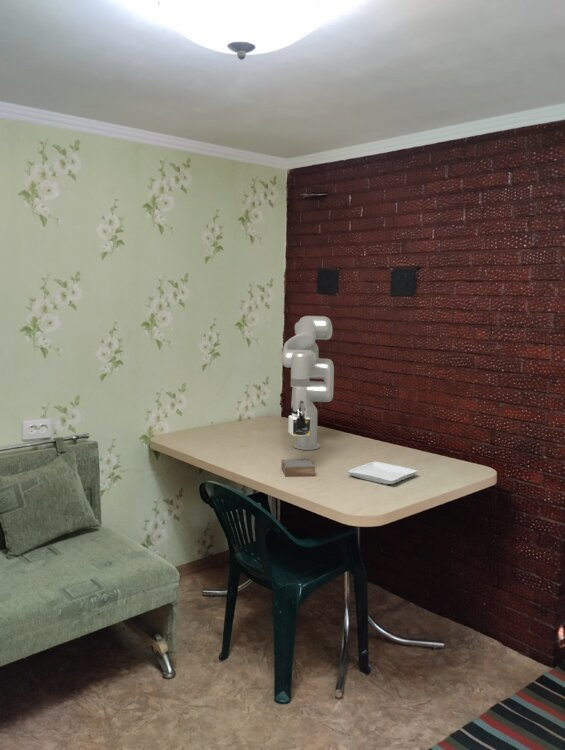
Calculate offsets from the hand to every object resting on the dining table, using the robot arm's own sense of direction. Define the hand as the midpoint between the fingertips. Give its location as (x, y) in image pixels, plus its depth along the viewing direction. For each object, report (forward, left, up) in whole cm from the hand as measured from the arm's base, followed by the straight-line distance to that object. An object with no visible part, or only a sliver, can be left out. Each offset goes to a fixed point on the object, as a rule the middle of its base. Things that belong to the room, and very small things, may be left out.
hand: (299, 425), depth 259 cm
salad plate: (+9, +33, -20) cm, 40 cm away
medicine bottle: (0, 0, -4) cm, 4 cm away
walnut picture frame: (0, 0, -19) cm, 19 cm away
